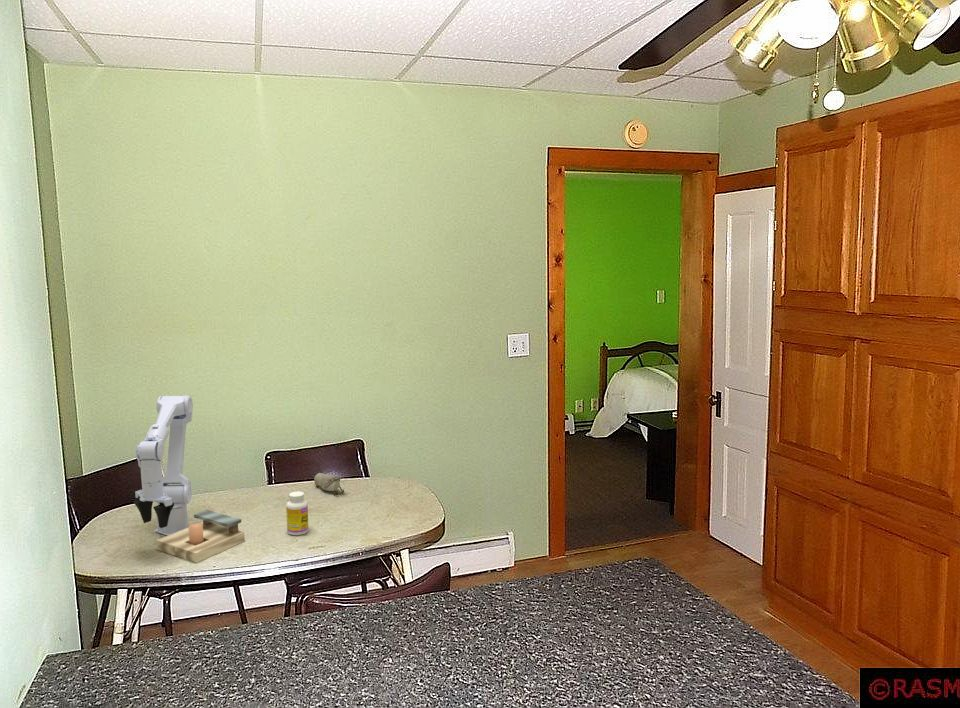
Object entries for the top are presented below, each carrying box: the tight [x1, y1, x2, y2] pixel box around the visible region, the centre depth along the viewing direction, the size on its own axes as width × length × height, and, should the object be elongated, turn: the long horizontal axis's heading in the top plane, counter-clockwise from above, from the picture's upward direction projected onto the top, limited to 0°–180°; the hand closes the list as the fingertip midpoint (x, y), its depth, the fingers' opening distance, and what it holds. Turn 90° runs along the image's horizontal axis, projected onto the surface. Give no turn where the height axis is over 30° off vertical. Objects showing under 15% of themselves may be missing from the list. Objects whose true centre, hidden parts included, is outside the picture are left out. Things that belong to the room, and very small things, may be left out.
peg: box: [188, 522, 204, 546], centre depth 223 cm, size 4×4×8 cm
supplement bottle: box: [285, 490, 309, 536], centre depth 237 cm, size 7×7×13 cm
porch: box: [156, 509, 245, 564], centre depth 227 cm, size 18×18×7 cm
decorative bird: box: [313, 472, 346, 497], centre depth 275 cm, size 5×16×8 cm, turn 46°
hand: (155, 524), depth 220 cm, fingers open, 7 cm apart
